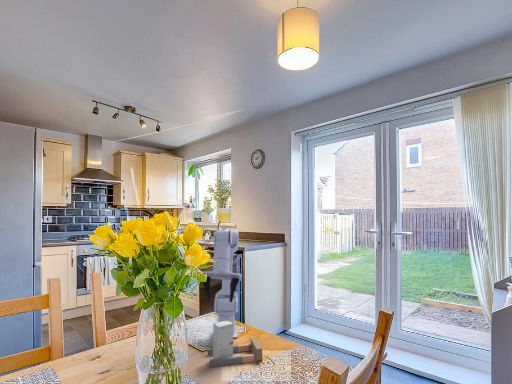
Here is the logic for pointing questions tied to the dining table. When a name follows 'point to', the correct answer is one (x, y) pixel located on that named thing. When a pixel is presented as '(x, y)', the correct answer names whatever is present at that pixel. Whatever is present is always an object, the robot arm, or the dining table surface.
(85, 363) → the dining table surface
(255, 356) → the guide channel
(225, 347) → the skincare box
